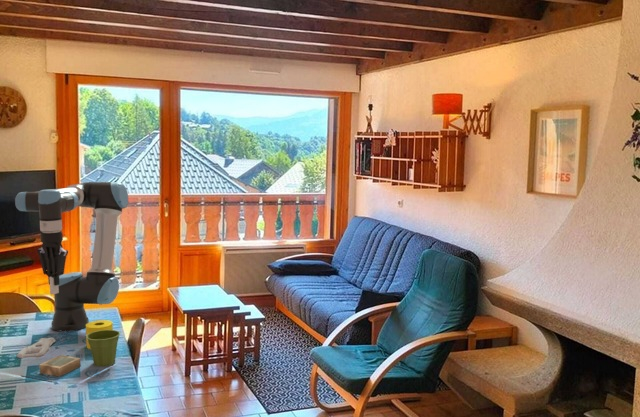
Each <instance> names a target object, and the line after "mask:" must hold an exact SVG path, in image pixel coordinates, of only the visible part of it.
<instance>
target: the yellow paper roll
mask: <svg viewBox="0 0 640 417" xmlns="http://www.w3.org/2000/svg"><path fill="white" fill-rule="evenodd" d="M113 324H114V322H113V321H111V320H107V319H101V320H100V319H98V320H92V321H89V323H87V324H86V327H85V336H86V335H88V334H89V333H92V332H95V331H100V330H114V325H113ZM85 339H86V348H87V349H88V350H91V348H90V344H89V342H88V339H87V338H86V337H85Z"/></svg>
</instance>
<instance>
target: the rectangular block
mask: <svg viewBox="0 0 640 417" xmlns="http://www.w3.org/2000/svg"><path fill="white" fill-rule="evenodd" d="M81 364H82V363H81V357H76V356H68V355H63V354H60V355H57V356H56V357H53V358H51V359H48V360H46V361H44V362H42V363H40V364H39V373H40V374H44V375H50V376H55V377H61V376H64V375H66V374H67V373H70V372H72V371H74V370H76V369H78V368H80V367H81V366H82V365H81Z"/></svg>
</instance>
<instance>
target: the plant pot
mask: <svg viewBox="0 0 640 417" xmlns="http://www.w3.org/2000/svg"><path fill="white" fill-rule="evenodd" d="M120 335H121V332H120V331H119V330H116V329H113V330H100V331H95V332H92V333H89V334H88V335H86V334H85V336H86V337H85V339H86V338H87V339H88V342H89V344H90V348H91V349H90V351H91V352H90V353H91V358H92V361H93V365H94V366H96V367H106V366H109V367H110V366H113V365H114V363H116V356H117V348H118V342H119V338H120Z"/></svg>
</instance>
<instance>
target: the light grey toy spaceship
mask: <svg viewBox="0 0 640 417" xmlns="http://www.w3.org/2000/svg"><path fill="white" fill-rule="evenodd" d="M56 341H57V339H55V338H54V337H41V338H40V339H39V340H38V341H37V342H34V343H32V344H31V345H29V346H25V347H23V348H22V349H21V350H20V351H19V352H18V353H17V354H16V358H18V359H24V358H30V357H36V358H39V357H43V356H45V354H46V353H47V352H49V351H50V350H51V346H52V345H53V344H54V343H55V342H56Z"/></svg>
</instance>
